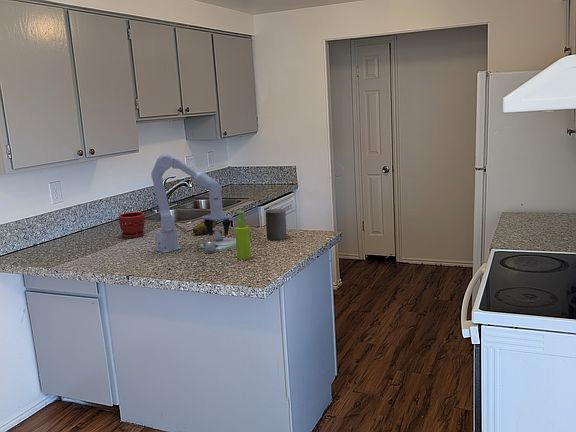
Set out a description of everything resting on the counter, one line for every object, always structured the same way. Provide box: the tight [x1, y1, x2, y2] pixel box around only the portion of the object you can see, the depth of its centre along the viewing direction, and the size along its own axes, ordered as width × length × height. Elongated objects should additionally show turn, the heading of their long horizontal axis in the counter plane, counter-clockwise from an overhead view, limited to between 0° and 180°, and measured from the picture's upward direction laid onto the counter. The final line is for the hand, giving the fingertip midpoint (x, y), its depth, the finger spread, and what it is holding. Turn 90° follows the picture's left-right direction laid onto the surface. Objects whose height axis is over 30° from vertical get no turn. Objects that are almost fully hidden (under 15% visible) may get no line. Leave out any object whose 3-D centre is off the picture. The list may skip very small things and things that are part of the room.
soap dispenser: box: [232, 210, 252, 260], centre depth 234 cm, size 6×7×20 cm
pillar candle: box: [264, 208, 288, 242], centre depth 265 cm, size 10×10×15 cm
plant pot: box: [118, 211, 146, 239], centre depth 291 cm, size 13×13×12 cm
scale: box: [198, 237, 237, 253], centre depth 259 cm, size 16×15×2 cm
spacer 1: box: [204, 240, 216, 255], centre depth 247 cm, size 4×4×5 cm
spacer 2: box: [213, 228, 224, 241], centre depth 262 cm, size 4×4×5 cm
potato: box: [192, 220, 217, 236], centre depth 288 cm, size 8×13×8 cm, turn 110°
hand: (218, 235), depth 262 cm, fingers open, 7 cm apart
